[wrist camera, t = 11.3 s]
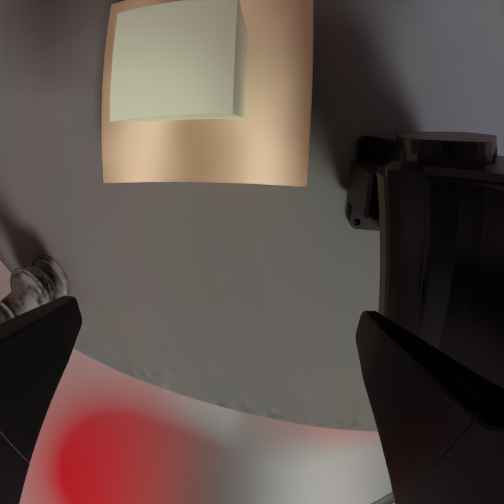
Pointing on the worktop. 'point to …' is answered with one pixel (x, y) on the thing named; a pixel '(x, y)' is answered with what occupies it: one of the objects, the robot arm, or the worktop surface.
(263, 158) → the oak riser block
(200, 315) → the worktop surface
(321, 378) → the worktop surface
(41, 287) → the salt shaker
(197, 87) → the sage cube
